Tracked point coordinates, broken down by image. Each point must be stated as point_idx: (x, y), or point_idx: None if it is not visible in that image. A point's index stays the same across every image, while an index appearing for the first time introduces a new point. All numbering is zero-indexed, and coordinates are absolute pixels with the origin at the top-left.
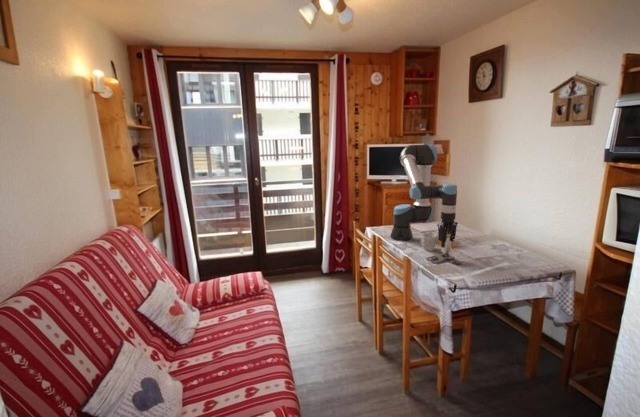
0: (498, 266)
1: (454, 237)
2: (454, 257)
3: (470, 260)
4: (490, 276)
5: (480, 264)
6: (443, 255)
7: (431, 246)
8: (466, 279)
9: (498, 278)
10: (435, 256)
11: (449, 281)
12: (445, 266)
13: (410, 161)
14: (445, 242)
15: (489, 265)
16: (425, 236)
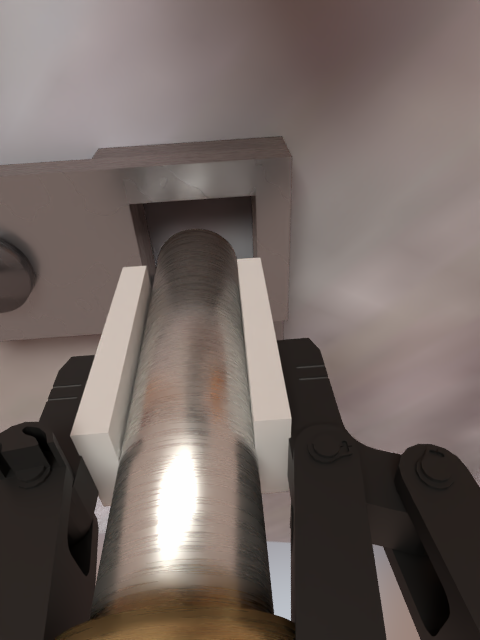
0: (470, 464)
1: (421, 555)
2: (278, 317)
3: (435, 332)
4: (268, 523)
5: (407, 412)
6: (158, 260)
7: None
8: (97, 515)
9: (284, 541)
10: (37, 206)
11: None
12: (83, 350)
13: None
14: (103, 498)
15: (441, 440)
16: None
